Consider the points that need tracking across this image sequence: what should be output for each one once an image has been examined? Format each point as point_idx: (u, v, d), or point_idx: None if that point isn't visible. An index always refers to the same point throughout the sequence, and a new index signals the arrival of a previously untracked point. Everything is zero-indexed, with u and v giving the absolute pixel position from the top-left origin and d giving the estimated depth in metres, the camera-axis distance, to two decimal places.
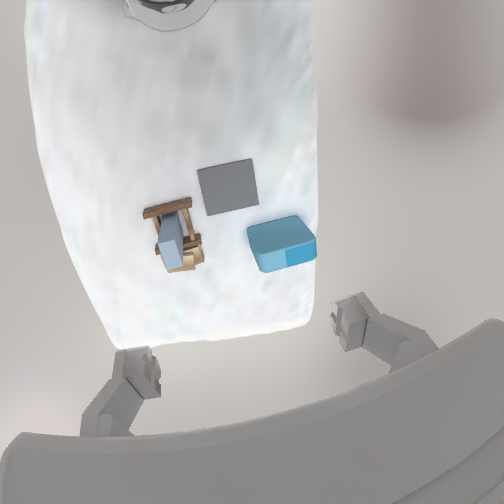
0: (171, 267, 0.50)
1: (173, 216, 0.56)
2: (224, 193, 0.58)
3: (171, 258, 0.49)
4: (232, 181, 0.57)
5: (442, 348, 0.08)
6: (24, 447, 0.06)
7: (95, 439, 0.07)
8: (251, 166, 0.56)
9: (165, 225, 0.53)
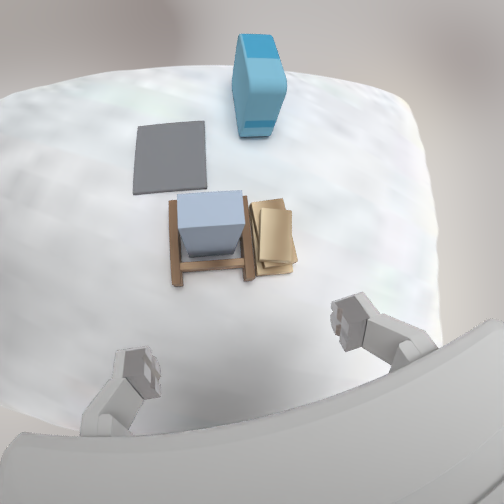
0: (239, 213, 0.24)
1: None
2: (175, 159, 0.37)
3: (218, 207, 0.24)
4: (161, 149, 0.37)
5: (442, 348, 0.08)
6: (24, 447, 0.06)
7: (95, 439, 0.07)
8: (147, 127, 0.38)
9: None
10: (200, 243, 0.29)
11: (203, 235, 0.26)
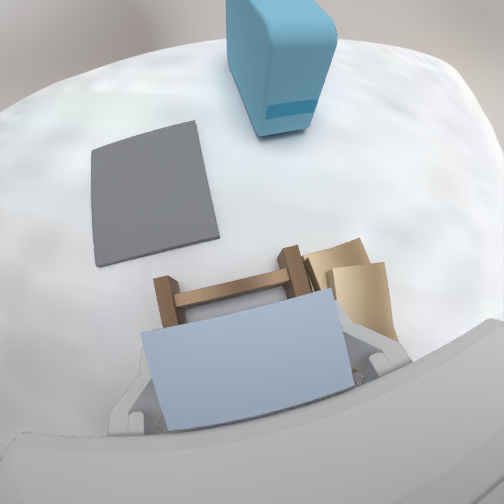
0: (335, 359, 0.08)
1: None
2: (157, 194, 0.22)
3: (271, 357, 0.07)
4: (130, 180, 0.22)
5: (442, 348, 0.08)
6: (24, 447, 0.06)
7: (95, 439, 0.07)
8: (105, 148, 0.23)
9: None
10: None
11: None
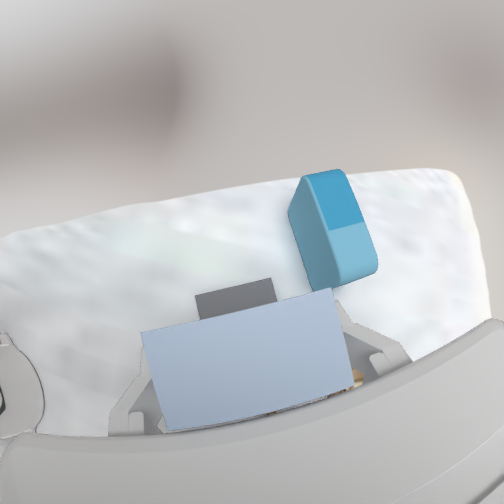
0: (335, 359, 0.07)
1: None
2: None
3: (271, 357, 0.07)
4: None
5: (442, 348, 0.08)
6: (24, 447, 0.06)
7: (95, 439, 0.07)
8: (206, 295, 0.37)
9: None
10: None
11: None
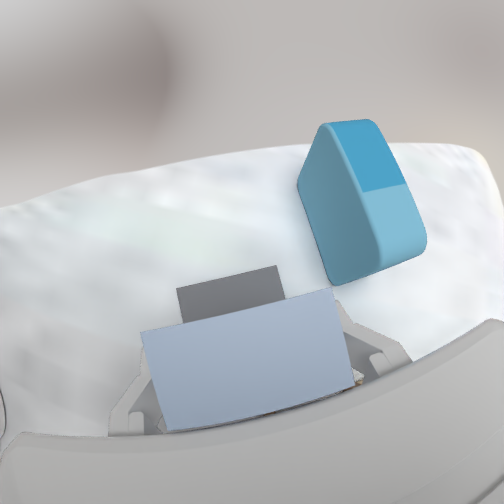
0: (335, 359, 0.07)
1: None
2: None
3: (271, 357, 0.07)
4: None
5: (442, 348, 0.08)
6: (24, 447, 0.06)
7: (95, 439, 0.07)
8: (191, 288, 0.28)
9: None
10: None
11: None
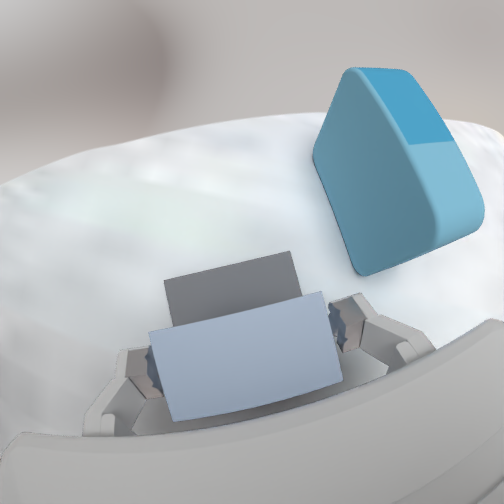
0: (325, 356, 0.08)
1: None
2: None
3: (267, 354, 0.08)
4: None
5: (442, 348, 0.08)
6: (24, 447, 0.06)
7: (95, 439, 0.07)
8: (182, 280, 0.22)
9: None
10: None
11: None
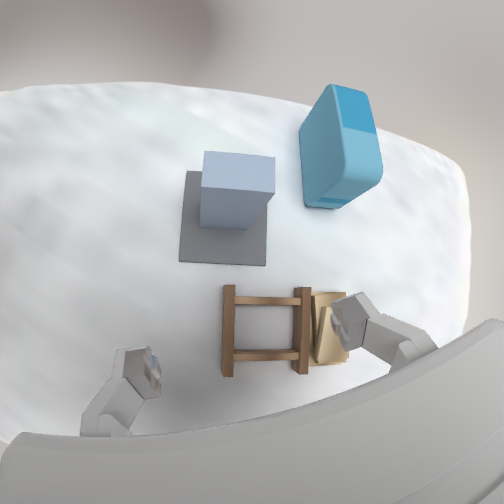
0: (270, 180, 0.22)
1: None
2: None
3: (247, 171, 0.21)
4: None
5: (442, 348, 0.08)
6: (24, 447, 0.06)
7: (95, 439, 0.07)
8: (198, 174, 0.34)
9: None
10: (218, 210, 0.27)
11: (225, 200, 0.24)
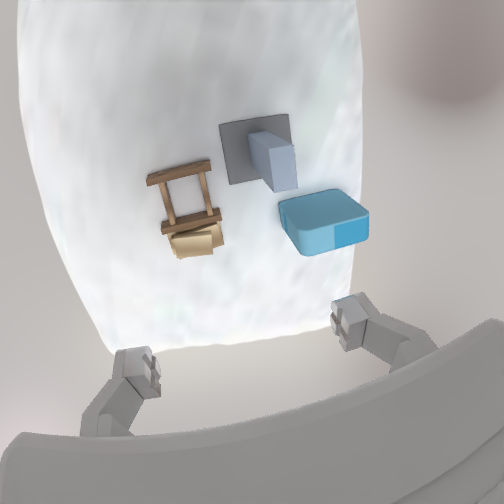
0: (281, 188, 0.34)
1: (267, 133, 0.40)
2: None
3: (284, 174, 0.33)
4: None
5: (442, 348, 0.08)
6: (24, 447, 0.06)
7: (95, 439, 0.07)
8: (287, 123, 0.43)
9: (263, 138, 0.37)
10: (258, 152, 0.37)
11: (264, 160, 0.35)
